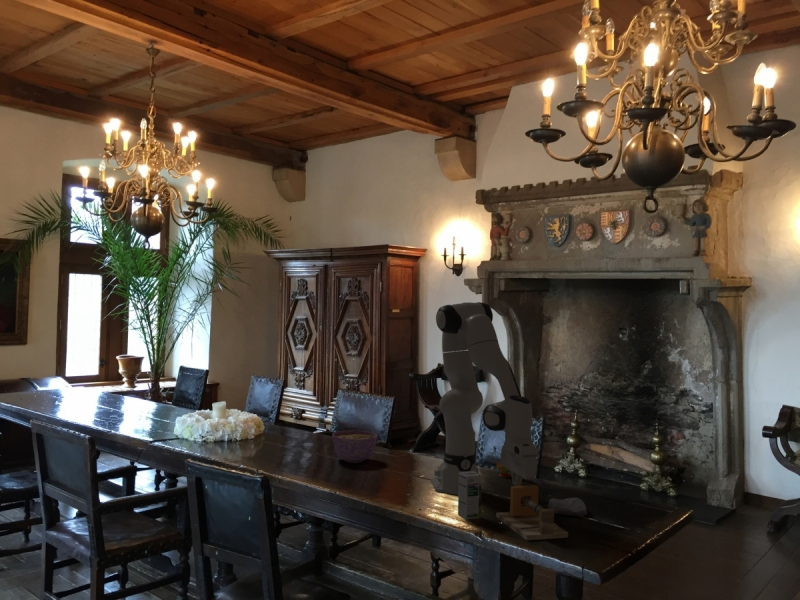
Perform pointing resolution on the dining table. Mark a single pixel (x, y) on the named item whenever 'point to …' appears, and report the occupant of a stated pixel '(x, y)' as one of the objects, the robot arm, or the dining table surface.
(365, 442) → the bowl of food
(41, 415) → the dining table surface
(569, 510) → the stone block
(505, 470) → the magic lamp
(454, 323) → the robot arm
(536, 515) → the pipe stand
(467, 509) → the syrup box
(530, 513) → the collar
